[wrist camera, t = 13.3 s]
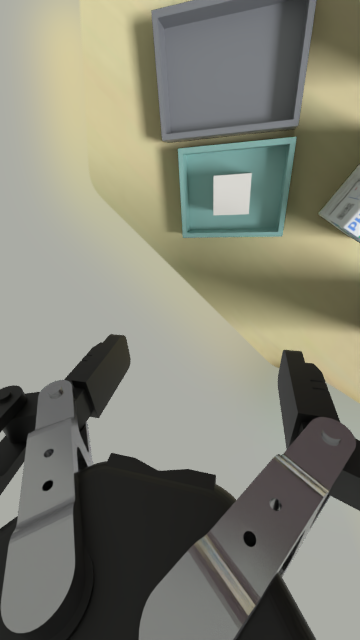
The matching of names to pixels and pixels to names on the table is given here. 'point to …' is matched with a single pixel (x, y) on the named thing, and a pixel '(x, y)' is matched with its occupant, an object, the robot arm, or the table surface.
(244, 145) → the bin
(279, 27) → the bin
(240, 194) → the stone block
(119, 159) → the table surface
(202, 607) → the robot arm
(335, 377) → the table surface
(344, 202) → the light bulb box
